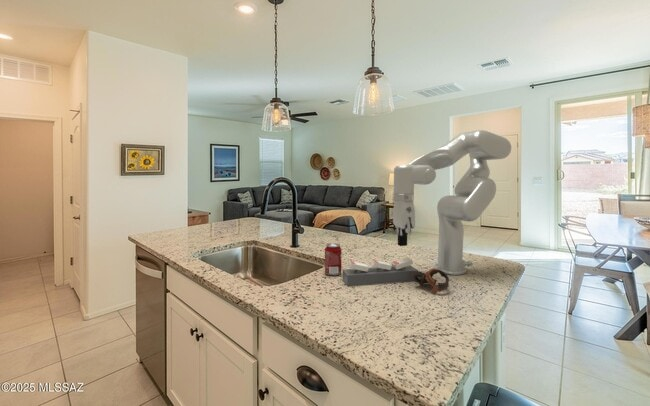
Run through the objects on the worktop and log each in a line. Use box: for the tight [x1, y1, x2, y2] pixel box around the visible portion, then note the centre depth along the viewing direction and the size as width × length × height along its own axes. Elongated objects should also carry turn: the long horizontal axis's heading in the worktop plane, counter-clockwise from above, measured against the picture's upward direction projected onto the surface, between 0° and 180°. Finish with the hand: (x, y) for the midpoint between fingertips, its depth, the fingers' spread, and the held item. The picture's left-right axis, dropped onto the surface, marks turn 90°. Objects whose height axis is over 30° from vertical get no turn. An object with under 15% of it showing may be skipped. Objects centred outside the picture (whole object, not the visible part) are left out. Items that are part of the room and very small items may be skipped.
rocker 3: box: [390, 256, 414, 270], centre depth 117 cm, size 7×4×2 cm, turn 100°
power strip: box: [342, 265, 420, 287], centre depth 116 cm, size 35×7×5 cm, turn 101°
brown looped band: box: [413, 268, 450, 295], centre depth 106 cm, size 12×10×8 cm
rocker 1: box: [347, 260, 370, 272], centre depth 113 cm, size 7×4×2 cm, turn 102°
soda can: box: [324, 242, 342, 277], centre depth 123 cm, size 7×7×12 cm
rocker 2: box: [369, 258, 392, 270], centre depth 115 cm, size 7×4×2 cm, turn 102°
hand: (402, 245), depth 116 cm, fingers closed
